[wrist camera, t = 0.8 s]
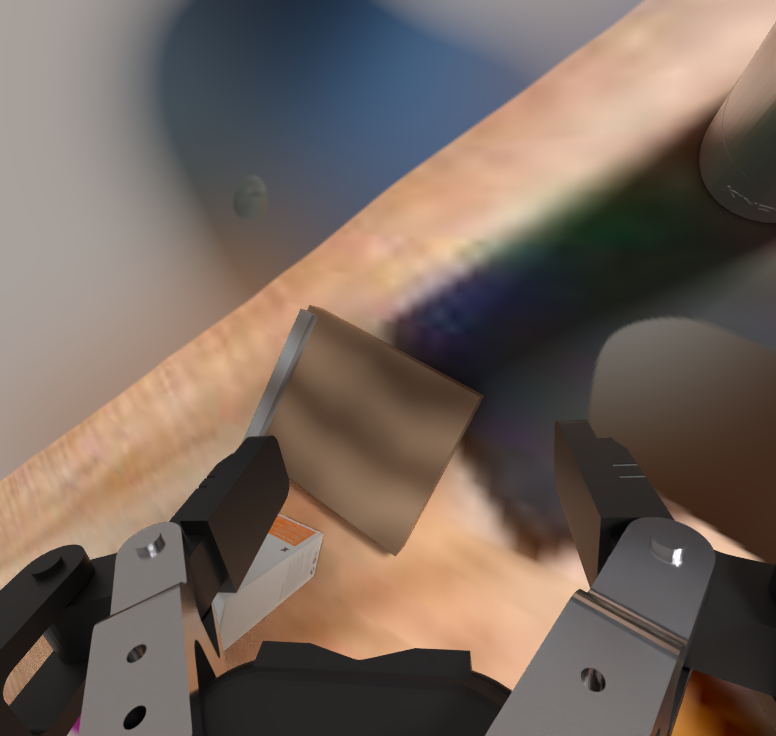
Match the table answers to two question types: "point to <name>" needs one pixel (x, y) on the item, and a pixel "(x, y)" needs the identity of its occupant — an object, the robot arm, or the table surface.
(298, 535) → the skincare box
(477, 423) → the table surface
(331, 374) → the walnut riser
